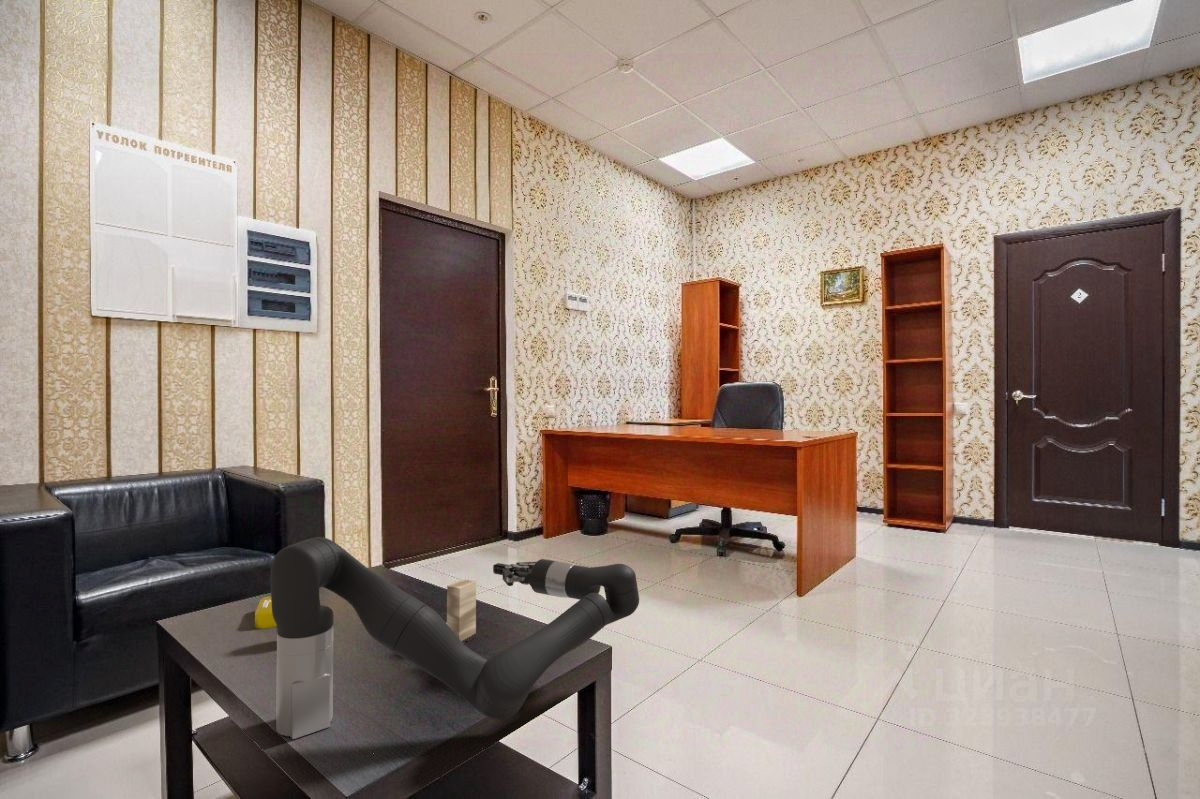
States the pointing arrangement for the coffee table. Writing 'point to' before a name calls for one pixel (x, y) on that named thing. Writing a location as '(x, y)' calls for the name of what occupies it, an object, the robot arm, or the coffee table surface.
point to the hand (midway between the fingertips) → (495, 568)
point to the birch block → (462, 608)
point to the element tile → (264, 614)
